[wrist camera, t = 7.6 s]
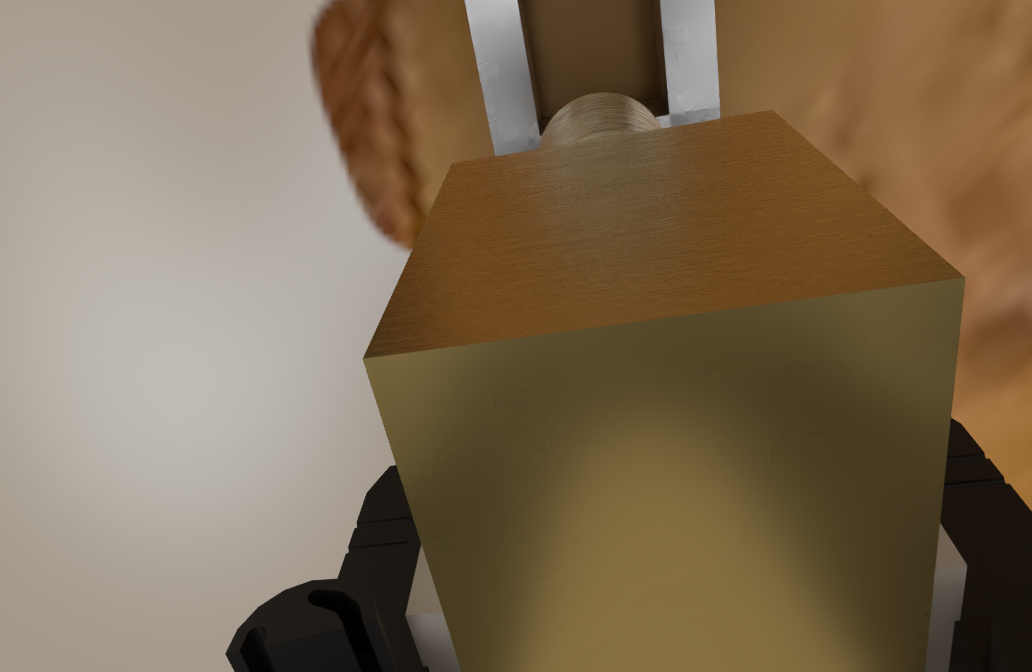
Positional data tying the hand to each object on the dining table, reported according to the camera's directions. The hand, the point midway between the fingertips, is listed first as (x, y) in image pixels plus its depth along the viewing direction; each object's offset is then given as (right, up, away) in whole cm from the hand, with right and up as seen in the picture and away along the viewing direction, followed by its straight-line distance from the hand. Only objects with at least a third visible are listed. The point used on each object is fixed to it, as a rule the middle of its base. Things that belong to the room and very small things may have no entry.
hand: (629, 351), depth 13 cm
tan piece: (0, +1, +3) cm, 3 cm away
